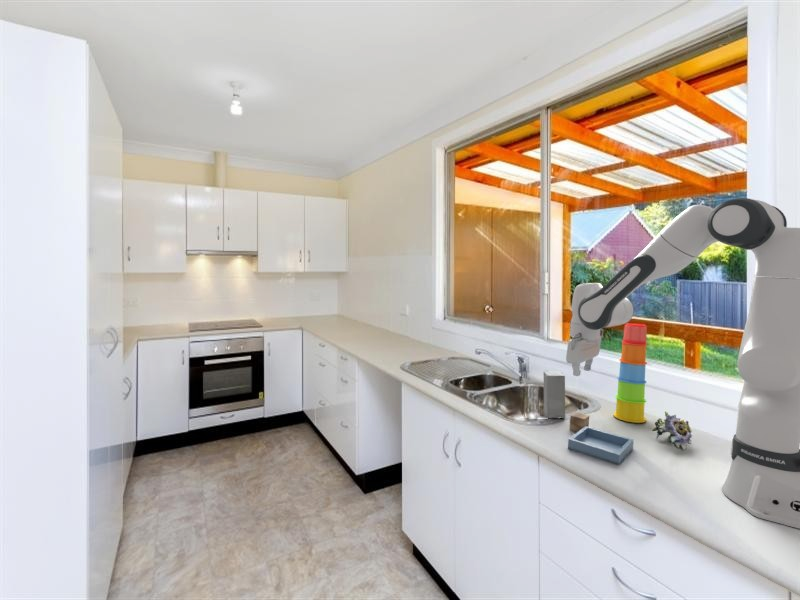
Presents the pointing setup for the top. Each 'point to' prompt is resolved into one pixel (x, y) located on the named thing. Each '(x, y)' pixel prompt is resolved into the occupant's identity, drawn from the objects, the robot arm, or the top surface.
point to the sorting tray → (601, 445)
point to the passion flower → (674, 430)
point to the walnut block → (578, 421)
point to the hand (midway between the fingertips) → (582, 372)
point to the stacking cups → (632, 375)
